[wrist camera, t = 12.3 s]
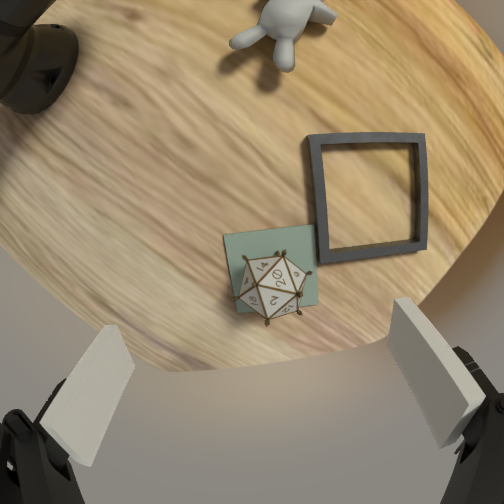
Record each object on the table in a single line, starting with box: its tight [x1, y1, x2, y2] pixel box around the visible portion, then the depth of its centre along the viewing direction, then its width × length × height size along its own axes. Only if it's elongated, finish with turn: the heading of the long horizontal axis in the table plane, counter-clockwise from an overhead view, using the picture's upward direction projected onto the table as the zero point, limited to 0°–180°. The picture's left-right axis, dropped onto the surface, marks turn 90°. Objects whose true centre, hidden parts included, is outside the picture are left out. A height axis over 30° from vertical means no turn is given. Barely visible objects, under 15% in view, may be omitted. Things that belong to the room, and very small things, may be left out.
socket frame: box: [307, 132, 428, 264], centre depth 32 cm, size 15×15×2 cm
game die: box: [231, 249, 313, 327], centre depth 32 cm, size 9×8×10 cm
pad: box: [224, 224, 318, 313], centre depth 36 cm, size 11×11×1 cm
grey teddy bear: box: [229, 0, 338, 73], centre depth 23 cm, size 10×5×15 cm
